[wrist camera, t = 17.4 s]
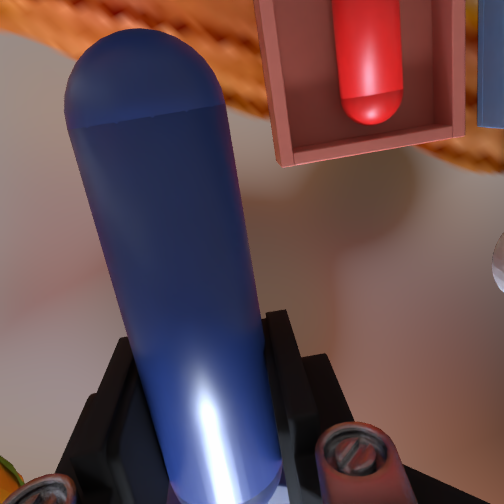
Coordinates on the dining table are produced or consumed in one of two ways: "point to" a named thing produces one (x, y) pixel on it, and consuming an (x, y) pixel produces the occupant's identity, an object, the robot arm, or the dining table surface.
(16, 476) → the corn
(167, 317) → the blue spoon
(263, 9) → the rose tray
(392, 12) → the red spoon
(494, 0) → the blue tray
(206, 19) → the dining table surface
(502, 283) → the coffee cup
